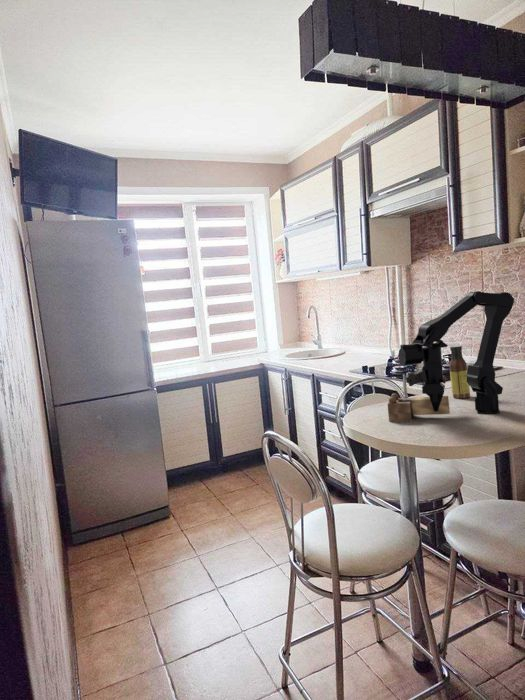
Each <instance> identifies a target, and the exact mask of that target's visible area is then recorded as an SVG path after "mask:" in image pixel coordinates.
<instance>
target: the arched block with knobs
mask: <svg viewBox="0 0 525 700" xmlns="http://www.w3.org/2000/svg"><path fill="white" fill-rule="evenodd" d="M403 399H405V398H403V397H399V394H397V393H394V392H393V393H392V394H391V396H390V397H389V398H388V402H387V411H388V412H387V413H388V422H412V419H413V417H414V415H413V414H412V415H411V402H403V401H402V400H403Z"/></svg>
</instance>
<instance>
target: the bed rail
mask: <svg viewBox="0 0 525 700" xmlns="http://www.w3.org/2000/svg"><path fill="white" fill-rule="evenodd" d="M449 400H450V399H449V395H443V397H442V400H441V403H440V406H439V409H438V411H434V409H433V406H432V403H431V400H430V397H429V396H419V397H418V396H415V397H408V398H405V399H403V400H402V401H403V402H411V415H412V414H413V416H426V415H427V416H429V415H430V416H432V415H433V416H434V415H450V412H451V411H450V401H449Z"/></svg>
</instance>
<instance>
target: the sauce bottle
mask: <svg viewBox="0 0 525 700" xmlns="http://www.w3.org/2000/svg"><path fill="white" fill-rule="evenodd" d="M449 347H450V348H449V349H450V351H451V352H450V353H451V354H450V355H451V359H450V361H449V362H448V363H449V364H448V365H449V375H450V377H449V378H450V383H451V393H452V397H453V398H454V399H460V398H461V399H468V398H470V396H471V391H470V390H471V387H470V386H469V385H468V383H467V377H465V375H466V374H467V371H468V366H467V361H466V360H465V358H464V356H463V347H462V345H452V346H449Z"/></svg>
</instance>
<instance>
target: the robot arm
mask: <svg viewBox="0 0 525 700" xmlns="http://www.w3.org/2000/svg"><path fill="white" fill-rule="evenodd" d="M514 304H515V297H513V295H512V294H511V293H509V292H506V291H505V292H504V291H503V292H502V291H501V292H494V293H492V292H483V291H479V290H477V291H470V292H468V293H467V294H466V295H465V296H464V297H463V298H461V299H460V300H458V302H456V303H455V304H454V305H452V306H451V307H449V309H447V310H446V311H445V312H443V313H442V314H441V315H439V316H437V317H436V318H433V319H429V320H428V321H425V323H422V324H421V325H420V326H419V327H418V329H417V330H418V332H417V334H416V336H415V338H414V340H413V341H412V343H410V344H406V343H405V344H404V343H403V344H400V347H399V350H398V354H397V358H398V359H397V360H398V362H399V364H400V366H401V367H405V366H413V365H420V364H421V363H422V364H423V365H422V368H421V369H420V370H418V371H415V372H411V373H408V375H405V380H406V383H407V384H408V386H409V387H413V386H414V385H416V384H419V383H421V382H422V383H423V384H422V387H421V391H422V395H423V394H424V395H427V397H430V400H431V403H432V406H433V409H434V411H438V409H439V406H440V403H441V400H442V397H443V396H444V394H445V388H446V385H445V384H446V376H445V375H444V371H443V365H444V364H443V359H442V357H443V356H442V355H443V354H442V348H447V347H449V346H448V344H447V343H445V342H444V341H443V338H444V336H445V335H446V334H447V333H448V331H449V330H450V328H451V327H452V325H454V324H455V323H456V322H457V321H459V320H460V319H462V318H463V316H465V315H466V314H468V313H469V312H470V311H472V310H473V309H474V308H475V307H477V306H481V307H484V308H483V311H484V314H485V318H486V320H485V324H484V328H483V333H482V336H481V341H480V345H479V348H478V349H479V350H478V353H477V357H476V360H475V362H474V363H473V365H471V364H468V366H467V370H468V371H467V374H466V375H465V377H467V383H468V385H469V388H470V389H471V390H472V392H474V393H475V395H476V396H474V408H475V409H474V410H475V411H476V412H477V414H500V413H501V411H500V404H499V402H500V401H499V395H502V394H503V391H504V387H502V386H501V384H499V383H498V382H497V381H495V380H496V370H495V368H494V362H495V355H496V353H497V347H498V345H499V344H498V343H499V339H500V335H501V333H502V332H501V331H502V327H503V324H504V321H505V319H506V318H507V317H508V315H510V313H511V311H512V310H513V309H512V308H513V306H514Z"/></svg>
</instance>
